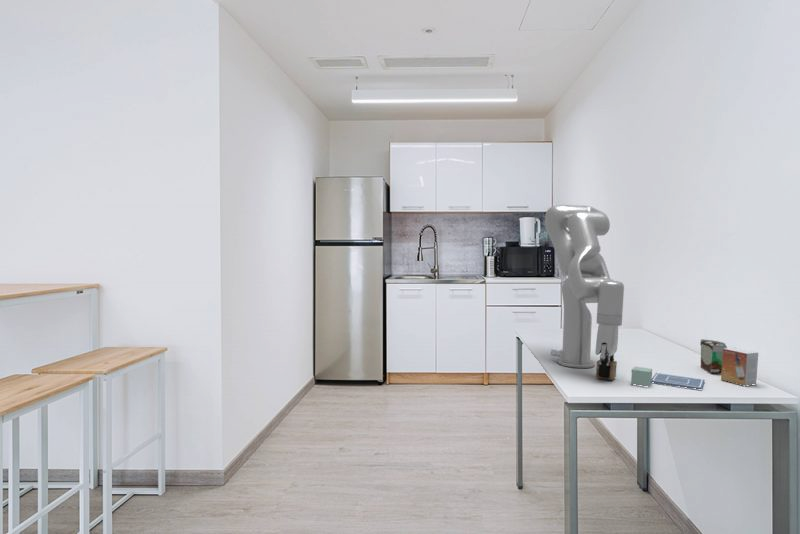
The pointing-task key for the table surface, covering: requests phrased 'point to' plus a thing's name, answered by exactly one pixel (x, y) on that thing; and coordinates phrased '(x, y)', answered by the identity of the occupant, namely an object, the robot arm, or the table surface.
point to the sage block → (641, 376)
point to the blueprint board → (678, 381)
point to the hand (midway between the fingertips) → (606, 374)
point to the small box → (739, 366)
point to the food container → (712, 356)
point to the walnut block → (612, 370)
